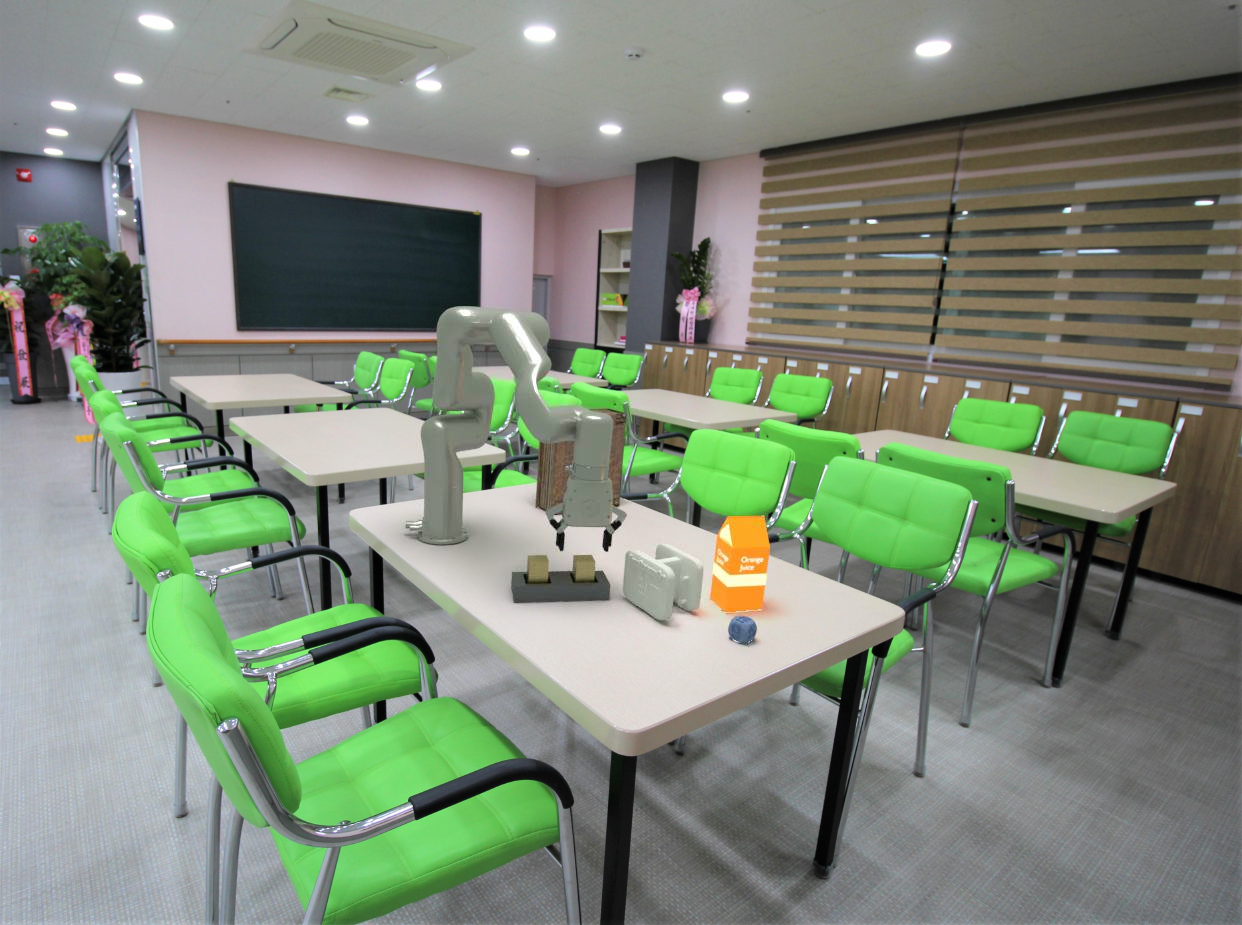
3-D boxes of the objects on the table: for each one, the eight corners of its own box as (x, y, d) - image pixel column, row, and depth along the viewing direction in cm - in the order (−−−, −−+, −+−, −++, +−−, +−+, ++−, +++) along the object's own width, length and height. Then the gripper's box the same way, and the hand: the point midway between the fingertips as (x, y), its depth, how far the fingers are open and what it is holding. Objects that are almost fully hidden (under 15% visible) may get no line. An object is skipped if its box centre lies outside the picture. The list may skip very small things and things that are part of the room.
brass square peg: (574, 597, 143) (576, 561, 141) (571, 589, 146) (573, 555, 145) (592, 596, 144) (595, 561, 142) (589, 589, 147) (591, 554, 146)
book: (551, 516, 198) (556, 415, 192) (535, 507, 205) (540, 410, 199) (619, 506, 213) (626, 412, 207) (602, 499, 220) (609, 408, 214)
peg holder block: (513, 602, 138) (515, 565, 136) (511, 587, 145) (512, 552, 144) (609, 600, 143) (612, 564, 141) (601, 585, 150) (604, 551, 148)
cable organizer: (702, 616, 138) (708, 563, 136) (661, 627, 132) (667, 571, 130) (658, 590, 150) (662, 540, 148) (618, 598, 144) (623, 546, 142)
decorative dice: (755, 639, 130) (758, 620, 129) (744, 646, 127) (746, 626, 126) (738, 632, 132) (740, 613, 132) (726, 638, 130) (729, 619, 129)
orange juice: (762, 611, 143) (774, 521, 139) (724, 614, 140) (735, 522, 136) (745, 596, 150) (756, 510, 146) (709, 598, 148) (718, 510, 143)
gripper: (551, 475, 134) (544, 555, 138) (634, 478, 138) (626, 556, 142) (546, 465, 141) (540, 542, 145) (626, 468, 145) (618, 543, 149)
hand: (583, 549), depth 143 cm, fingers open, 9 cm apart
